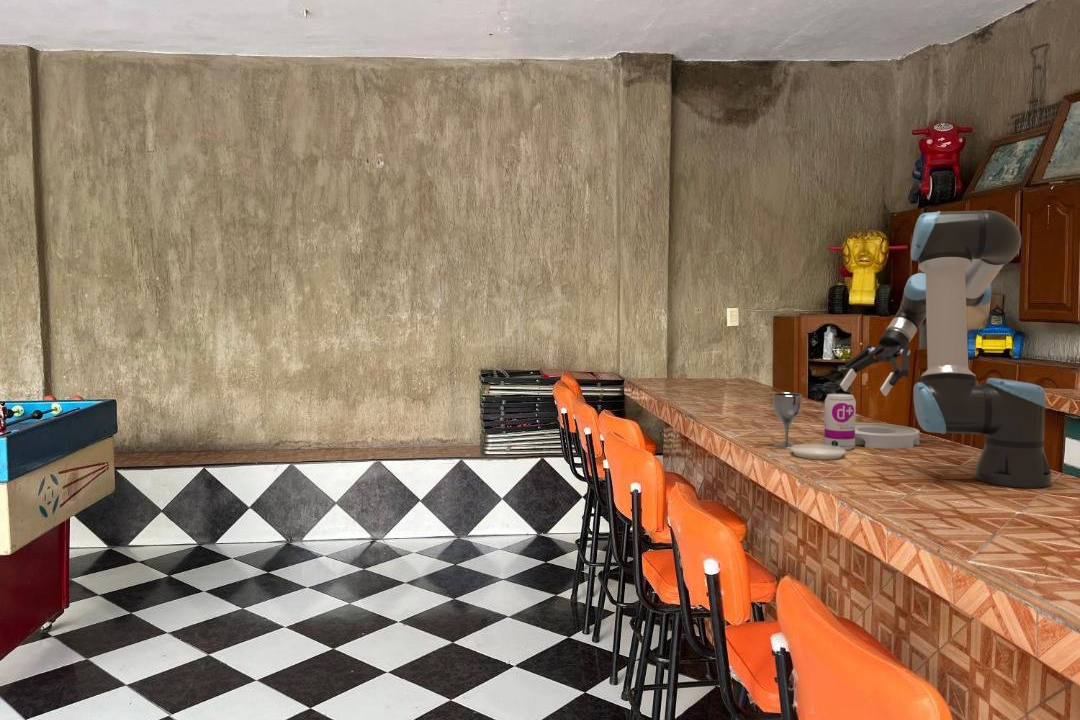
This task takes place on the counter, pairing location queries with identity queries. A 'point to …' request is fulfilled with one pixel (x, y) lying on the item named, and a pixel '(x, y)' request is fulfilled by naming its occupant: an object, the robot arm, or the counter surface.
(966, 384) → the robot arm
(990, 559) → the counter surface
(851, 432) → the supplement can
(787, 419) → the wine glass
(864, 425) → the ashtray
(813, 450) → the dish
